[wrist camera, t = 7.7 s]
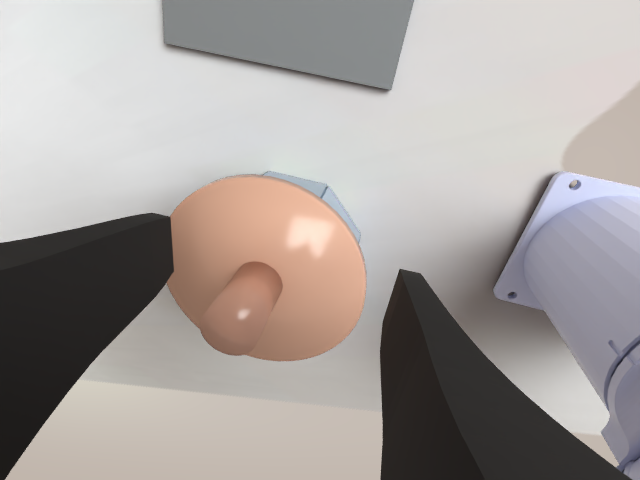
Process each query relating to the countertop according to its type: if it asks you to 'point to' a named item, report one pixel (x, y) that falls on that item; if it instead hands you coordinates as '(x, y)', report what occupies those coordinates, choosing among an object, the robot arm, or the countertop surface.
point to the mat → (297, 34)
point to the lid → (266, 268)
